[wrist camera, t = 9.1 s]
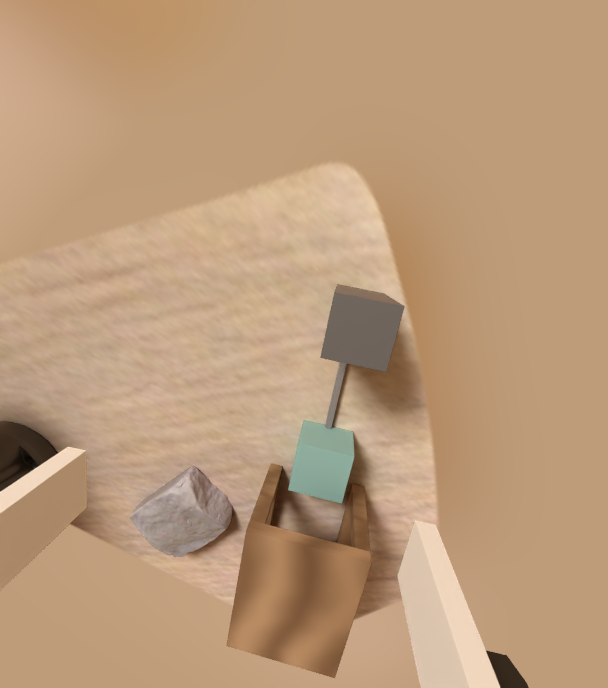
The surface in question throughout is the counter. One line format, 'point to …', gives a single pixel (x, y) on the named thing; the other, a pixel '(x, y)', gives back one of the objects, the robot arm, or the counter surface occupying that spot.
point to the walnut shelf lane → (299, 586)
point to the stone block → (183, 514)
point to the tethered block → (347, 348)
